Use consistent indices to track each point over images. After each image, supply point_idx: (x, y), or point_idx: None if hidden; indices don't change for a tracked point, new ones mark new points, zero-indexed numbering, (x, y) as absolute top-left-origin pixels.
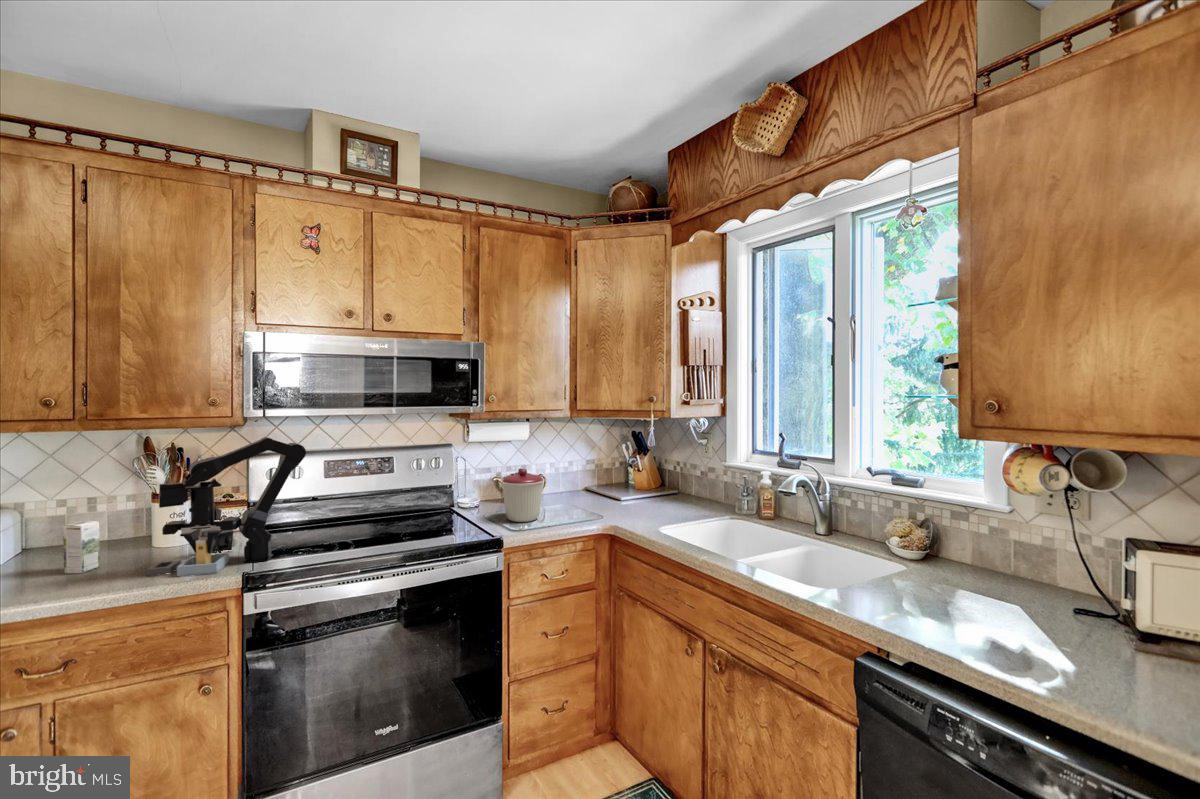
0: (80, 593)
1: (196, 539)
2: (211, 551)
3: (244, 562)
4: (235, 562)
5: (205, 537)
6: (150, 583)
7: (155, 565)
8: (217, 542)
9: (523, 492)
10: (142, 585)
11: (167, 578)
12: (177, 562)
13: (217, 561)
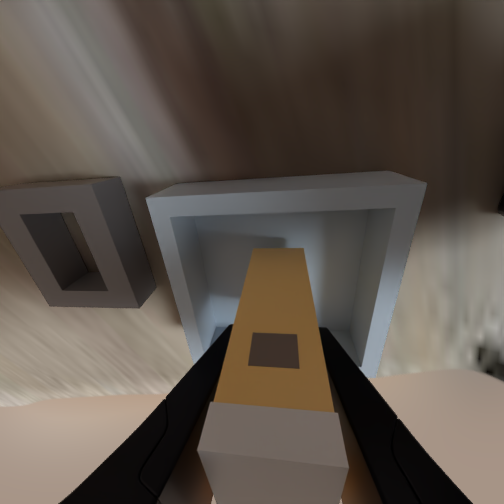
0: (27, 372)
1: (190, 490)
2: (330, 335)
3: (499, 212)
4: (431, 169)
5: (269, 470)
6: (157, 358)
7: (35, 259)
8: None
9: None
10: (145, 366)
11: (180, 330)
12: (111, 234)
13: (372, 348)
